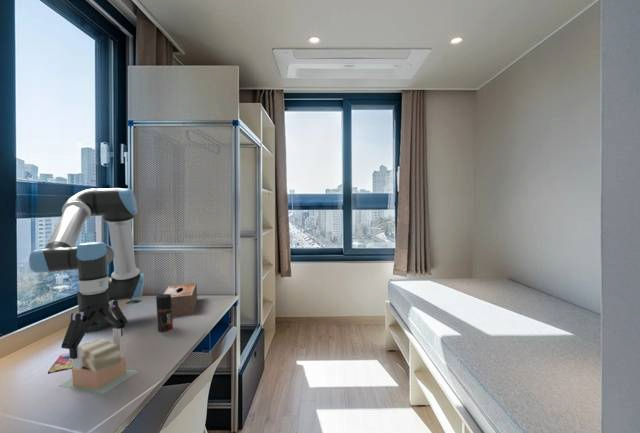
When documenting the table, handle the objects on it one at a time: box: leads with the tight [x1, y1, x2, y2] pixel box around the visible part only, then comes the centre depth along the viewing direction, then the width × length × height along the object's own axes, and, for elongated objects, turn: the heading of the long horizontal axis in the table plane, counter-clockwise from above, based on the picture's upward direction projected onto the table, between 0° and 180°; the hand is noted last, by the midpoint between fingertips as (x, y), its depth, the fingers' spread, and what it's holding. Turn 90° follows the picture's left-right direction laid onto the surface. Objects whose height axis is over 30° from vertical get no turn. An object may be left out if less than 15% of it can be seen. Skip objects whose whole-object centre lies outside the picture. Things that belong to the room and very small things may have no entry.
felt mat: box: [58, 368, 140, 395], centre depth 103 cm, size 18×13×1 cm
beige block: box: [79, 338, 122, 373], centre depth 103 cm, size 12×7×6 cm, turn 59°
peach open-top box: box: [71, 356, 127, 389], centre depth 103 cm, size 10×10×5 cm
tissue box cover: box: [163, 282, 198, 318], centre depth 172 cm, size 26×14×10 cm, turn 16°
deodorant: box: [155, 293, 174, 333], centre depth 143 cm, size 6×6×15 cm
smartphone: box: [47, 352, 73, 375], centre depth 116 cm, size 7×1×15 cm
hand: (99, 357), depth 103 cm, fingers open, 13 cm apart
